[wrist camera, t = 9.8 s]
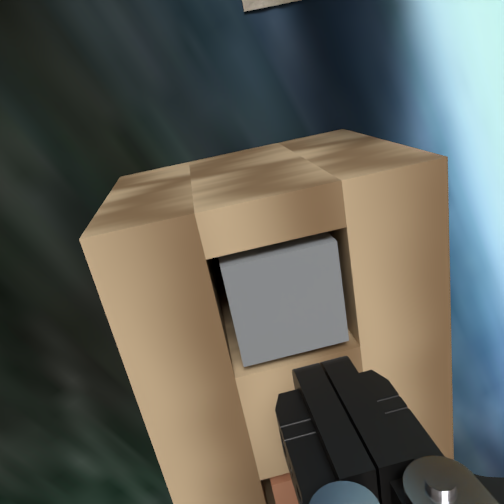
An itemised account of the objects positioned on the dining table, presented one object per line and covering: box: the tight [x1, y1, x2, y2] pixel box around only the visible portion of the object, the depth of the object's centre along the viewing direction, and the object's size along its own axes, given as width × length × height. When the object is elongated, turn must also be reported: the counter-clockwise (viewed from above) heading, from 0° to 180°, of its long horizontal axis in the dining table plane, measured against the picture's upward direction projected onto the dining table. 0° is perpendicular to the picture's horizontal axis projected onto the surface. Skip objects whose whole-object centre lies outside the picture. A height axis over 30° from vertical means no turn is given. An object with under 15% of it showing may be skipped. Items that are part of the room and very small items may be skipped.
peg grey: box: [218, 232, 349, 367], centre depth 19 cm, size 4×4×8 cm
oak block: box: [79, 129, 454, 504], centre depth 22 cm, size 12×18×10 cm, turn 11°
